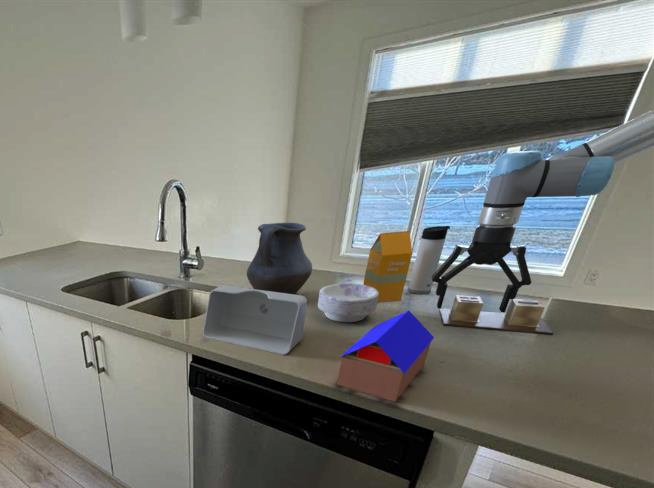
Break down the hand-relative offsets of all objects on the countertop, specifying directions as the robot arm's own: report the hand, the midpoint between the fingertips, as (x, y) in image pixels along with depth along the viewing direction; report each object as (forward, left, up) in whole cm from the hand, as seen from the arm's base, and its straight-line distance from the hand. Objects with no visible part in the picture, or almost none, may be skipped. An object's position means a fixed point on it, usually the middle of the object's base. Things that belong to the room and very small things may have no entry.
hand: (469, 308), depth 107 cm
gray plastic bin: (+51, +26, -3) cm, 57 cm away
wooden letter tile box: (-11, 0, -2) cm, 11 cm away
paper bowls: (+30, +6, -3) cm, 30 cm away
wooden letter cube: (+1, 0, -2) cm, 2 cm away
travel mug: (+10, -23, -3) cm, 25 cm away
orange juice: (+21, -14, -3) cm, 25 cm away
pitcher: (+52, -5, -3) cm, 52 cm away
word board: (-5, 0, -3) cm, 6 cm away
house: (+20, +39, -3) cm, 44 cm away
